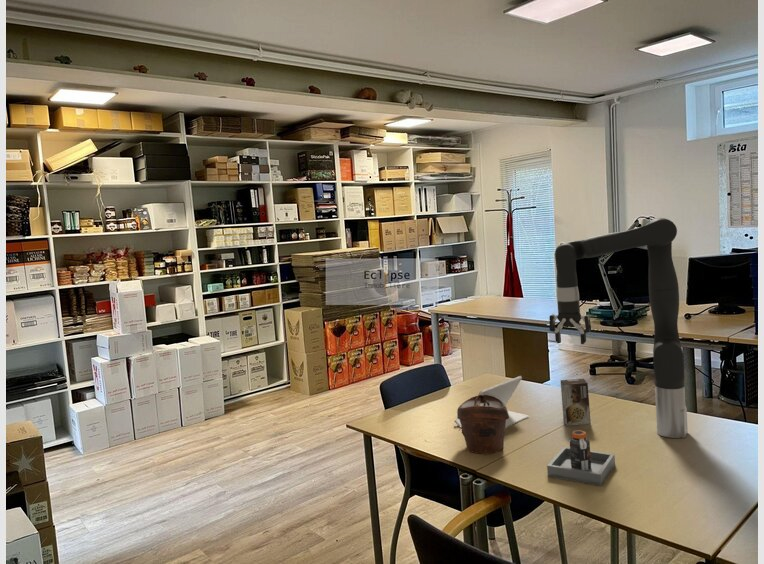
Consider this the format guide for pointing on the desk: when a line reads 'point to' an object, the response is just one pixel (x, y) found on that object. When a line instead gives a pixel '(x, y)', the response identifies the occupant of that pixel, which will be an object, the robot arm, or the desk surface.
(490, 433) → the brown tapered container
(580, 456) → the pill bottle
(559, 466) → the tray
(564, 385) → the coffee box
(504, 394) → the tablet stand
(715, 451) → the desk surface
